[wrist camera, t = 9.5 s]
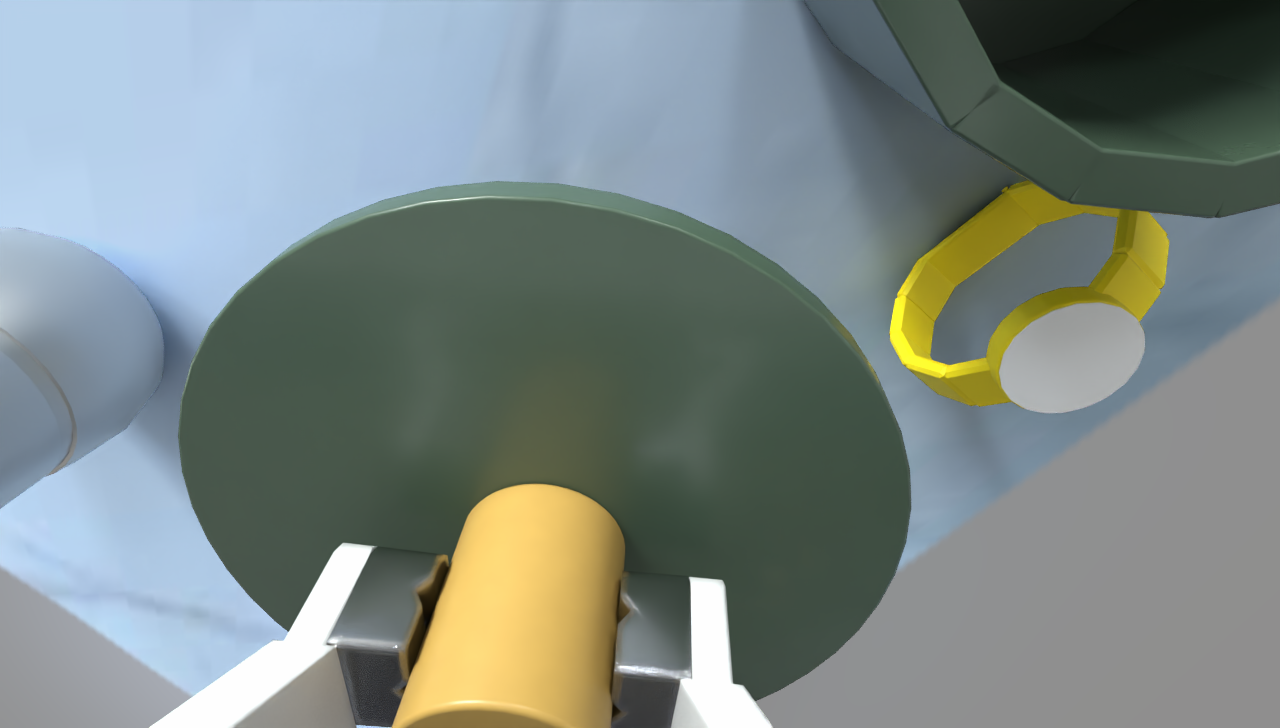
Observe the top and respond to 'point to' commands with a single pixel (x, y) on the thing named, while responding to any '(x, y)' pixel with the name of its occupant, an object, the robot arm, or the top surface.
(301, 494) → the tin lid
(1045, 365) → the watch
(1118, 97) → the tin
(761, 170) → the top surface
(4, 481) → the plastic bottle
